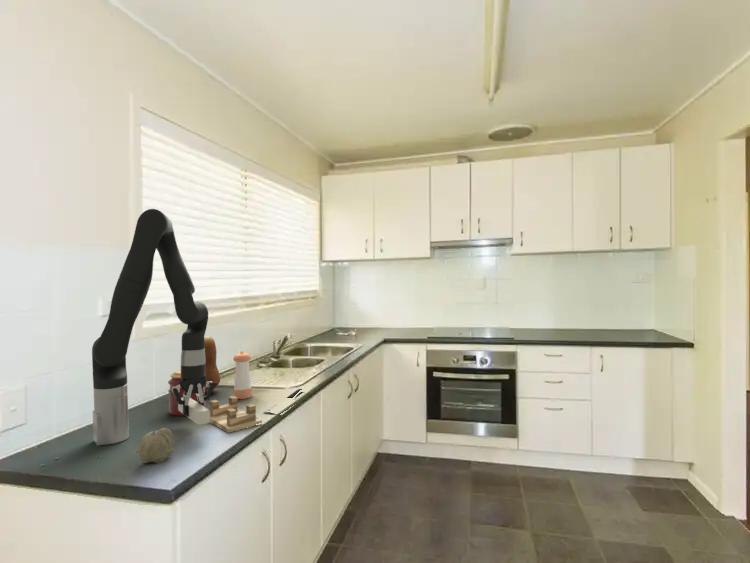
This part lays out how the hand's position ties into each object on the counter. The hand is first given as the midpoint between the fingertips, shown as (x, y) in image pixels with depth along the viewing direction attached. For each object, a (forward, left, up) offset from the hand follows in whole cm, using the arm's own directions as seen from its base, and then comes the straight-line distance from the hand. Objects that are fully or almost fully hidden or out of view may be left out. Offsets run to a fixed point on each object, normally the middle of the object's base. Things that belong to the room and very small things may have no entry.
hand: (193, 414), depth 147 cm
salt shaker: (+31, +28, -6) cm, 42 cm away
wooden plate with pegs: (+14, +1, -6) cm, 15 cm away
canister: (+7, +25, -6) cm, 26 cm away
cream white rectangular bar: (0, 0, 0) cm, 0 cm away
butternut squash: (+21, +45, -6) cm, 50 cm away
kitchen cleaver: (+41, +6, -7) cm, 42 cm away
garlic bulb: (-16, -15, -6) cm, 23 cm away
